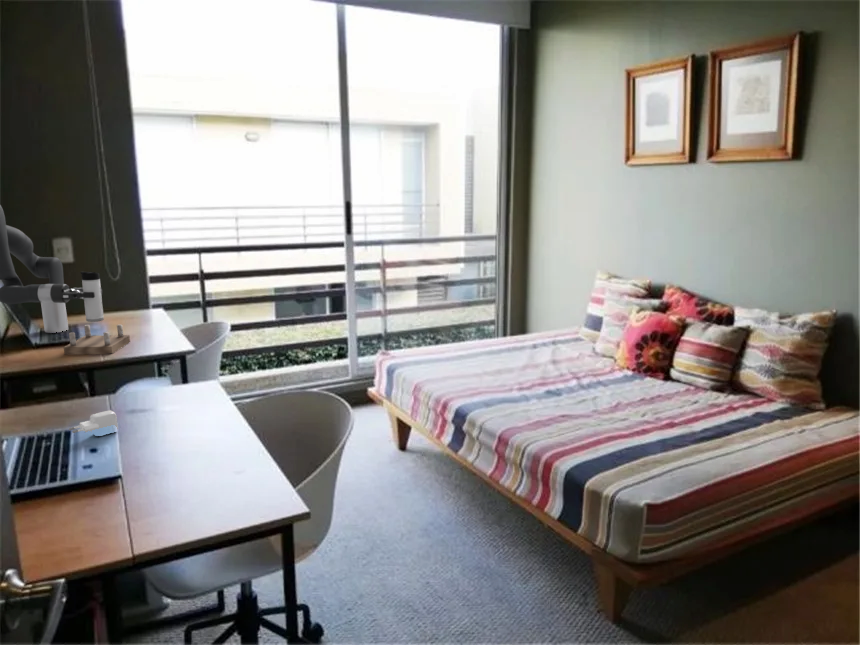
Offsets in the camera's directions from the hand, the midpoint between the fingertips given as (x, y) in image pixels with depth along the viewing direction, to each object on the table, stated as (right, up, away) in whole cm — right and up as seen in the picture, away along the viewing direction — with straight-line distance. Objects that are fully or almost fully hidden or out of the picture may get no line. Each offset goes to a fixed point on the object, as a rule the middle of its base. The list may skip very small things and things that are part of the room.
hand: (98, 293), depth 247 cm
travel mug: (-3, -11, +2) cm, 11 cm away
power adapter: (+42, -42, -80) cm, 100 cm away
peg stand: (-2, -22, +5) cm, 23 cm away
